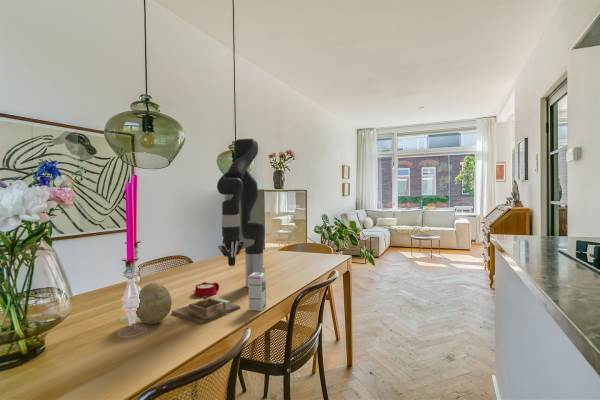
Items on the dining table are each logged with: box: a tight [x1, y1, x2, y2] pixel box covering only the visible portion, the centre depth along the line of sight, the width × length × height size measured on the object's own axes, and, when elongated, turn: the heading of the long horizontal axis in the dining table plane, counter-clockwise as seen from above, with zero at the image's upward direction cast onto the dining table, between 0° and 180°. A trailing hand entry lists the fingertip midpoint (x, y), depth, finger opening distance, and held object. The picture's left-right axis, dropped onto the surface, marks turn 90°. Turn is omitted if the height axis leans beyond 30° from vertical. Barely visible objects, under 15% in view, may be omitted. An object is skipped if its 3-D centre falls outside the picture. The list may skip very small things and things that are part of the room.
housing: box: [171, 296, 241, 325], centre depth 136 cm, size 20×18×5 cm
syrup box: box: [247, 272, 267, 312], centre depth 139 cm, size 6×6×14 cm
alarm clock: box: [192, 281, 220, 298], centre depth 161 cm, size 10×6×15 cm
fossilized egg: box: [135, 281, 173, 325], centre depth 124 cm, size 13×13×15 cm
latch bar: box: [211, 296, 231, 310], centre depth 136 cm, size 2×10×3 cm, turn 55°
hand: (231, 265), depth 142 cm, fingers closed
